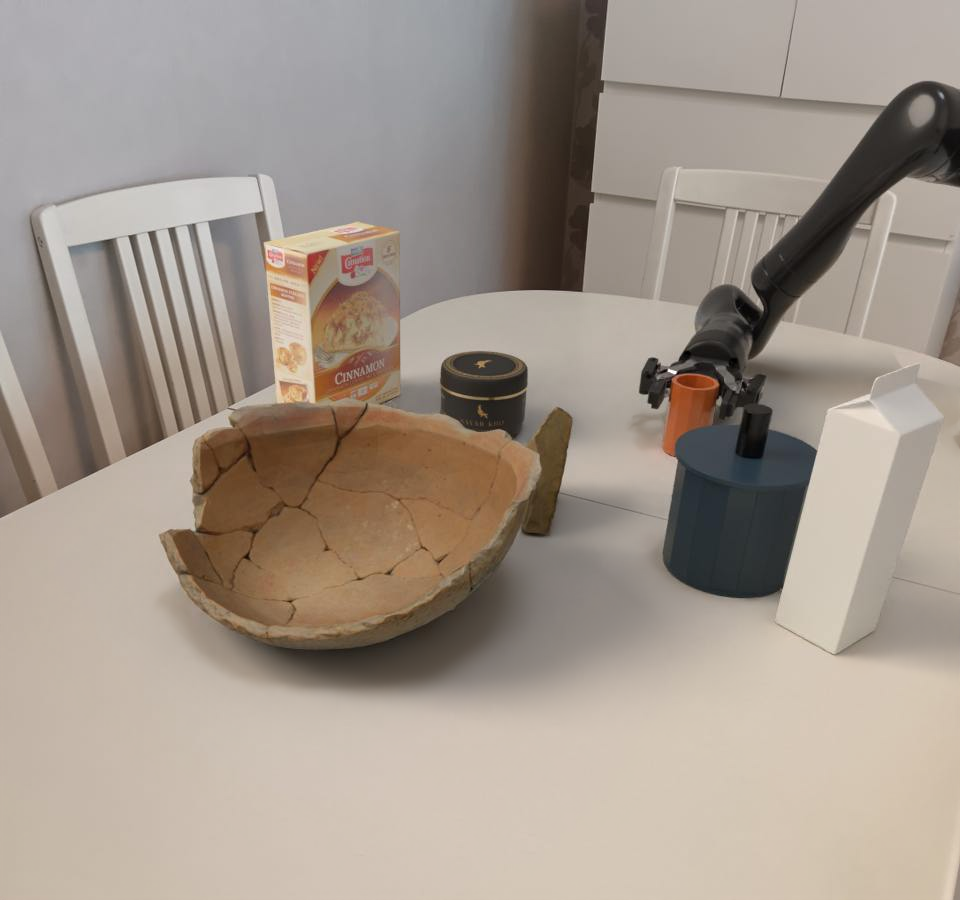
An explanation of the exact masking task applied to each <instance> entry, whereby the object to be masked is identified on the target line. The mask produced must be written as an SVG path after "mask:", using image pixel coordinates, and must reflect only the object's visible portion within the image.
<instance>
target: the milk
mask: <svg viewBox="0 0 960 900" xmlns="http://www.w3.org/2000/svg"><path fill="white" fill-rule="evenodd" d="M920 364H921V363H919V362H916V363H913V364H909V365H907V366H905V367H901V368H899V369H897V370H894V371H891V372H888V373H885V374H883V375H880V376H877V377H876V378H875V379H874V381H873V383H872V385H871V386H872V387H871V390H870V393H868V394H865V395H862V396H859V397H857V398H854V399H851V400H849V401H846V402H843V403H840V404H838V405H835V406H833V407H830V408H828V409H827V412H826V415H825V419H824V423H823V428H822V431H821V435H820V439H819V442H818V443H819V444H818V447H817V455H816V459H815V463H814V467H813V471H812V475H811V479H810V482H809V486H808V490H807V494H806V498H805V502H804V506H803V510H802V514H801V518H800V522H799V526H798V530H797V534H796V538H795V542H794V546H793V550H792V554H791V558H790V562H789V566H788V570H787V574H786V578H785V582H784V586H783V588H782V590H781V595H780V599H779V603H778V606H777V609H776V614H775V619H774V623H775V624H777V625H779V626H781V627H782V628H785V629H786V630H788V631H790V632H792V633H794V634H795V635H797V636H799V637H801V638H803V639H805V640H806V641H808V642H810V643H812V644H814V645H816V646H817V647H819V648H820V649H823V650H825V651H826V652H828V653H830V654H832V655H835V656H836V655H837V654H838V653H840V652H841V651H844V650H845V649H847V648H848V647H850V646H851V645H853V644H855V643H857V642H858V641H859V640H862V639H863V638H864V637H866V636H868V635H870V634H871V633H873V632H874V631H876V629H877V626H878V622H879V620H880V616H881V613H882V611H883V607H884V604H885V602H886V598H887V596H888V592H889V589H890V585H891V583H892V580H893V576H894V573H895V571H896V568H897V564H898V561H899V559H900V555H901V552H902V548H903V546H904V543H905V540H906V536H907V533H908V530H909V528H910V525H911V521H912V518H913V516H914V512H915V509H916V506H917V503H918V500H919V498H920V494H921V491H922V488H923V484H924V481H925V478H926V475H927V472H928V469H929V467H930V463H931V461H932V457H933V454H934V451H935V448H936V445H937V441H938V439H939V435H940V432H941V429H942V426H943V423H944V420H945V416H944V415H943V413H942V412H941V411H940V410H939V408H937V407H936V405H935V404H934V403H933V402H932V401H931V400H930V398H929V397H928V396H927V395H926V394H925V392H924V391H923V390H922V389H921V388H920V387H919V385H918V384H917V383H916V380H917V377H918V373H919V370H920V366H921V365H920Z"/></svg>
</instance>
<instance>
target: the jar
mask: <svg viewBox="0 0 960 900" xmlns="http://www.w3.org/2000/svg"><path fill="white" fill-rule="evenodd" d="M528 380H529V370H528V366H527V363H525V361H523V360H522V359H521V358H518V357H517V356H515V355H512V354H507V353H503V352H498V351H489V350H475V351H464V352H459V353H455V354H452V355H450V356H448V357H446V358H445V359H443V361H442V362H441V366H440V378H439V385H440V414H443V415H447V416H450V417H452V418H454V419H456V420H458V421H459V422H460V423H461V424H462V425H463V426H464V427H465V428H466V429H469V430H473V431H476V432H487V431H492V430H497V429H500V430H504V431H506V432H507V433H508V434H509V435H510V436H511V437H512V438H514V437H515V436H516V435H517V434H518V433H519V432H520V431H521V429H522V427H523V423H524V421H525V415H526V404H527V389H528V385H529V382H528Z"/></svg>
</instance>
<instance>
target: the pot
mask: <svg viewBox="0 0 960 900" xmlns="http://www.w3.org/2000/svg"><path fill="white" fill-rule="evenodd" d="M808 486H809V485H808ZM808 486H805V487H802V488H798V489H793V490H785V491H756V490H747V489H740V488H735V487H730V486H726V485H722V484H719V483H715V482H712V481H710V480H707V479H704V478H702V477H700V476H698V475H696V474H694V473H692V472H691V471H689V470H688V469H686V468H685V467H684V466H683V465H681V464H680V462H679V461H678V460H677V464H676V469H675V474H674V481H673V487H672V493H671V500H670V506H669V510H668V512H669V513H668V518H667V524H666V530H665V536H664V541H663V549H662V562H663V564H664V566H665V568H666V569H667V571H668V572H669V573H670V574H671V575H672V576H673V577H675V579H677V580H678V581H681V583H683V584H685V585H687V586H689V587H691V588H694V589H695V590H699V591H702V592H705V593H708V594H712V595H716V596H721V597H729V598H756V597H763V596H768V595H771V594H774V593H776V592H778V591H780V590H781V589H783V586H784V582H785V578H786V574H787V570H788V566H789V562H790V558H791V554H792V550H793V546H794V542H795V538H796V534H797V530H798V526H799V522H800V518H801V514H802V510H803V506H804V502H805V498H806V494H807V490H808Z"/></svg>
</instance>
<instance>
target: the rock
mask: <svg viewBox="0 0 960 900" xmlns="http://www.w3.org/2000/svg"><path fill="white" fill-rule="evenodd" d="M573 419H574V418H573V416H572V415H570V413H569V412H567V411H565V410H564V409H563V408H561V407H559V406H556V407H554V408H553V409H552V410H551V411H550V413H548V414H547V416H546V418H544V421H543V422H542V423H541V424H540V426H539V427H538V429H537V430H536V432H535V434H533V435H534V436H533V437H531V438H530V440H529V441H528V443H527V444H526V445H523V446H524V447H527V448H529V449H531V450H532V451H534V452H536V453H538V454H540V456H541V457H540V465H541V477H540V480H539V482H538V483H537V485H536V487H535V490H534V491H533V493H532V494H531V495H530V497H529V499H528V501H527V503H526V506H525V512H524V517H523V521H522V524H521V529H522V530H523V531H524V532H525V533H531V534H538V535H547V534H548V533H549V531H550V528H551V526H552V521H553V519H554V517H555V514H556V509H557V504H558V499H559V494H560V491H561V487H562V482H563V477H564V474H565V468H566V463H567V458H568V449H569V443H570V439H571V434H572V428H573V421H574V420H573Z"/></svg>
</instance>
